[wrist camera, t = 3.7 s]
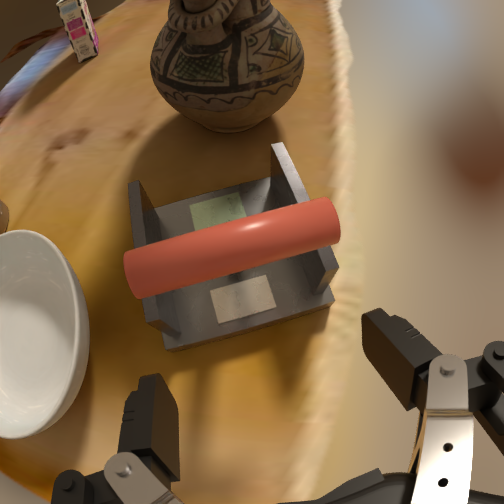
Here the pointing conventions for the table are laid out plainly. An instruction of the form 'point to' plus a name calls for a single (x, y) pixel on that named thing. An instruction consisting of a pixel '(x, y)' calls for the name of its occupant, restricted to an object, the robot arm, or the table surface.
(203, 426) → the table surface
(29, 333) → the serving bowl
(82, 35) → the candy bar box
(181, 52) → the decorative pitcher
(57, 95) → the table surface
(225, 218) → the switch box
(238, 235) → the switch lever
